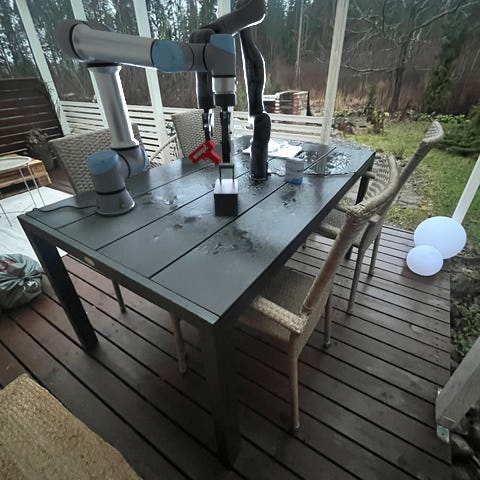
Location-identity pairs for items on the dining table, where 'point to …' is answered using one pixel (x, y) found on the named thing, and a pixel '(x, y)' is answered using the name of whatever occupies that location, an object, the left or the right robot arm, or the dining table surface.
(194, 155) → the toy gun
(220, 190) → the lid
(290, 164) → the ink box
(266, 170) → the right robot arm
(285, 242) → the dining table surface
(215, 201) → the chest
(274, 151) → the relief map
